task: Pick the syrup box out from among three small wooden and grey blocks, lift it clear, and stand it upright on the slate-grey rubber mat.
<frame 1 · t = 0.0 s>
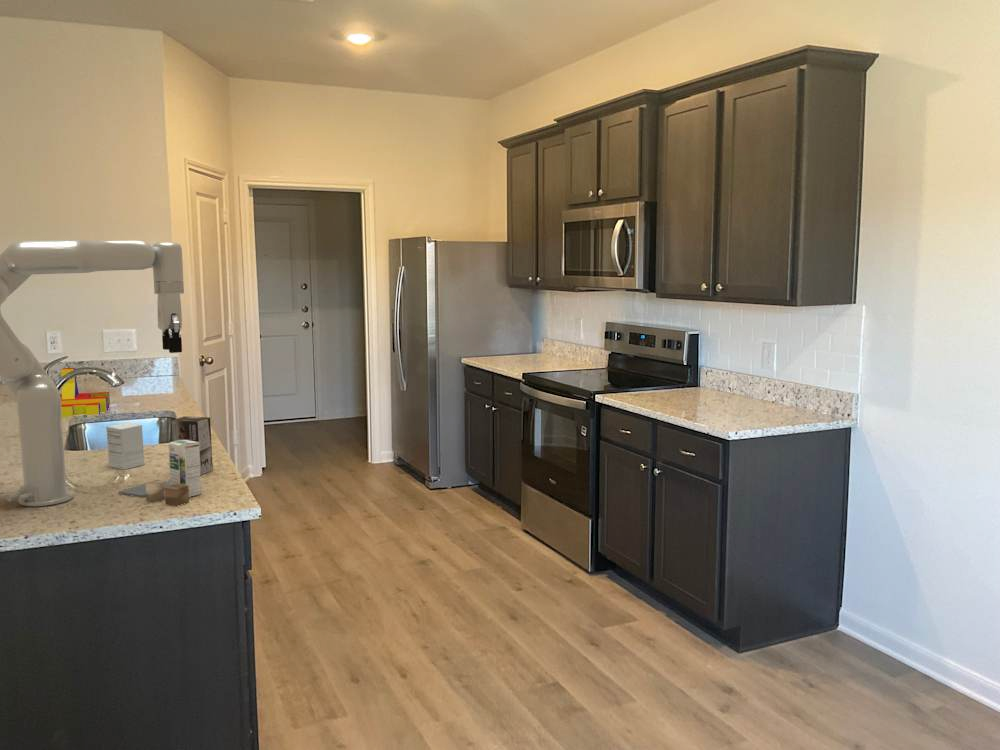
hand: (172, 350, 223), 37 cm above the countertop, tool pointing down, fingers open, 9 cm apart
birch cylinder: (155, 499, 212), on the countertop
walnut block: (177, 503, 209), on the countertop
supplement box: (126, 466, 247), on the countertop
coffee box: (194, 472, 240), on the countertop
syrup box: (186, 495, 216), on the countertop
grey block: (189, 487, 224), on the countertop
building blocks toy: (82, 413, 338), on the countertop
slate mat: (150, 489, 221), on the countertop
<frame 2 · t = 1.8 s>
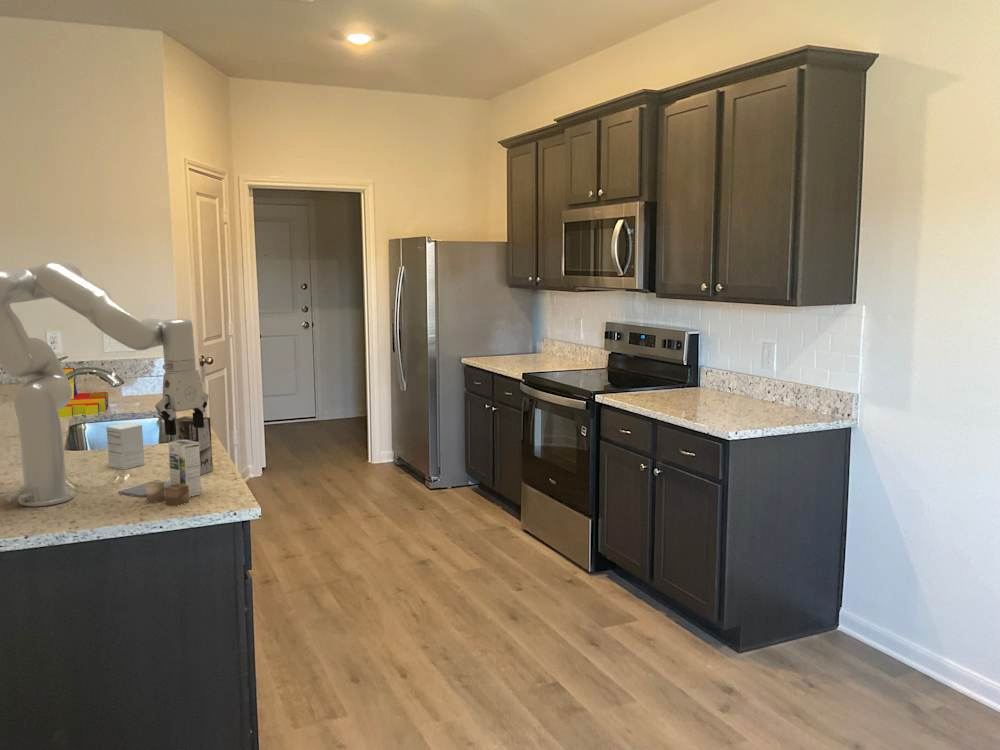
hand: (185, 431, 214), 17 cm above the countertop, tool pointing down, fingers open, 9 cm apart
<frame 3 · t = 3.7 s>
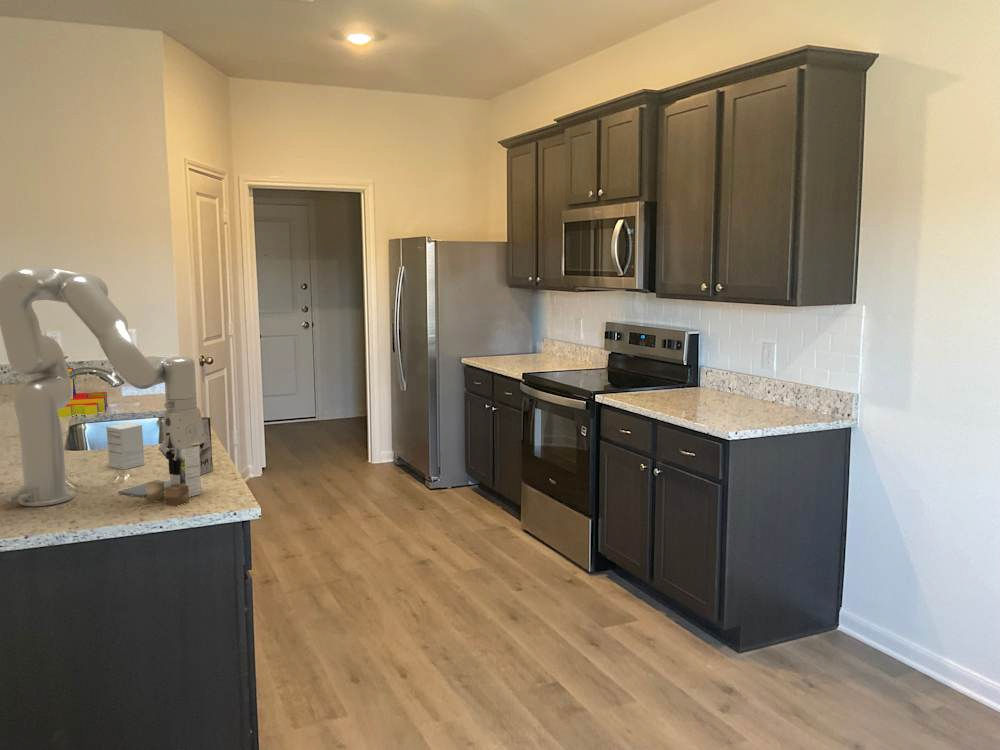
hand: (184, 470, 215), 7 cm above the countertop, tool pointing down, fingers closed on syrup box, 6 cm apart
syrup box: (186, 495, 216), on the countertop, touching gripper
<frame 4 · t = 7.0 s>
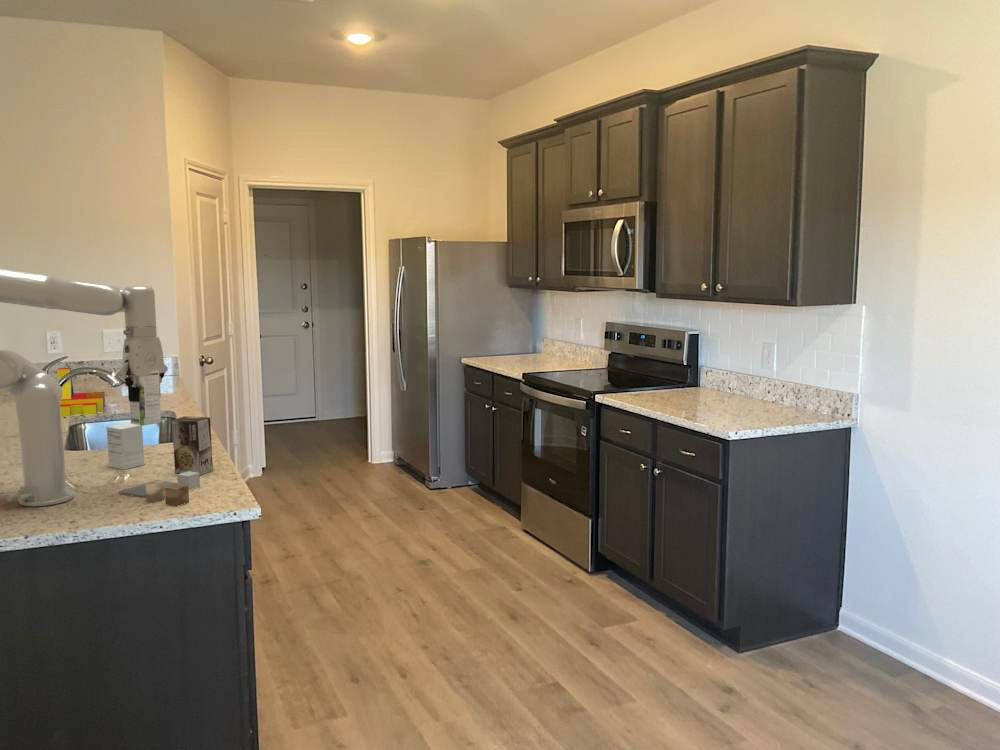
hand: (144, 398, 218), 25 cm above the countertop, tool pointing down, fingers closed on syrup box, 6 cm apart
syrup box: (146, 424, 219), point 18 cm above the countertop, touching gripper
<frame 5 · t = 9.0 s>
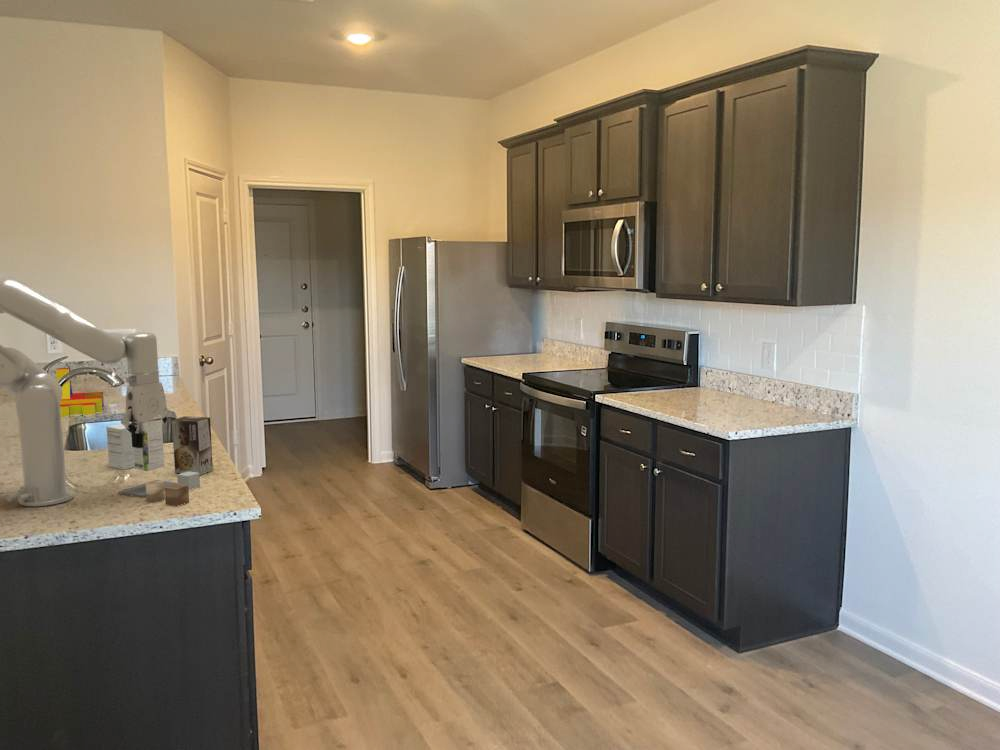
hand: (148, 444, 220), 13 cm above the countertop, tool pointing down, fingers closed on syrup box, 6 cm apart
syrup box: (149, 468, 221), point 6 cm above the countertop, touching gripper
when the fingers open (8 cm above the countertop, at t = 10.4 s): syrup box drops 1 cm, resting on slate mat.
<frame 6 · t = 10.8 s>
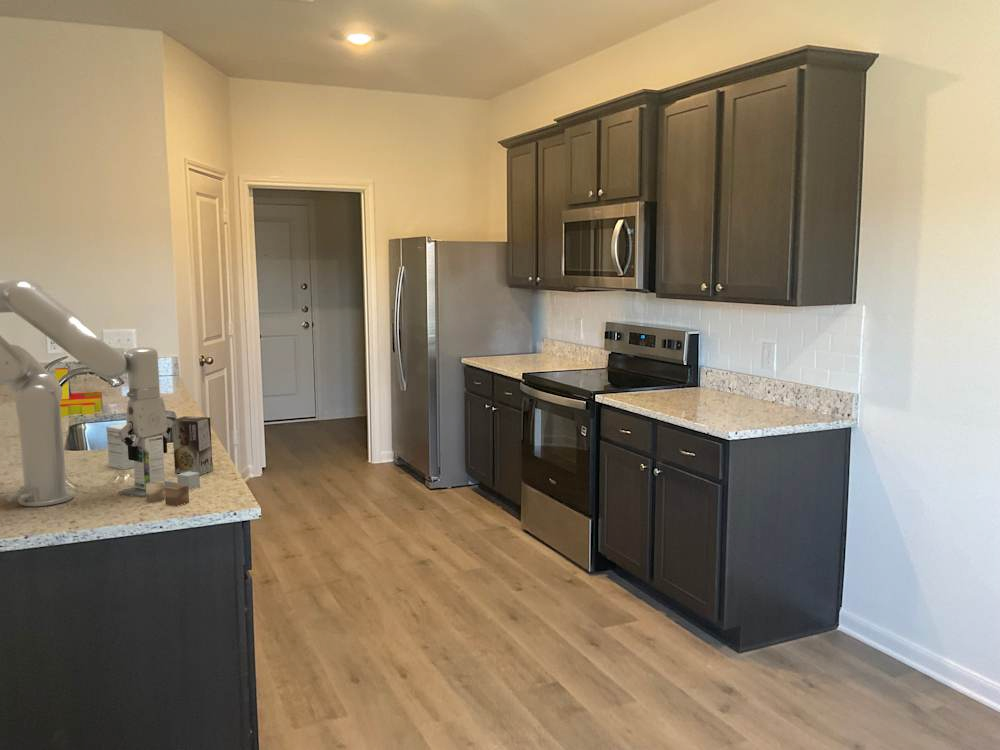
hand: (148, 456, 220), 9 cm above the countertop, tool pointing down, fingers open, 9 cm apart
syrup box: (150, 487, 222), resting on slate mat
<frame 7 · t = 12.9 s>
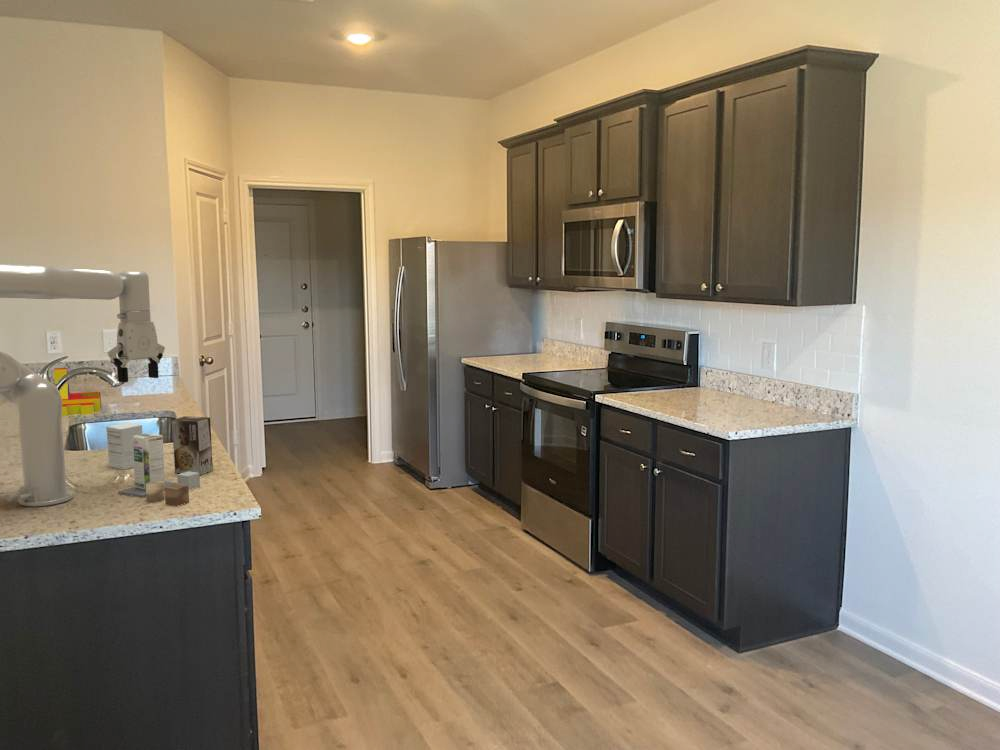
hand: (138, 379, 222), 30 cm above the countertop, tool pointing down, fingers open, 9 cm apart
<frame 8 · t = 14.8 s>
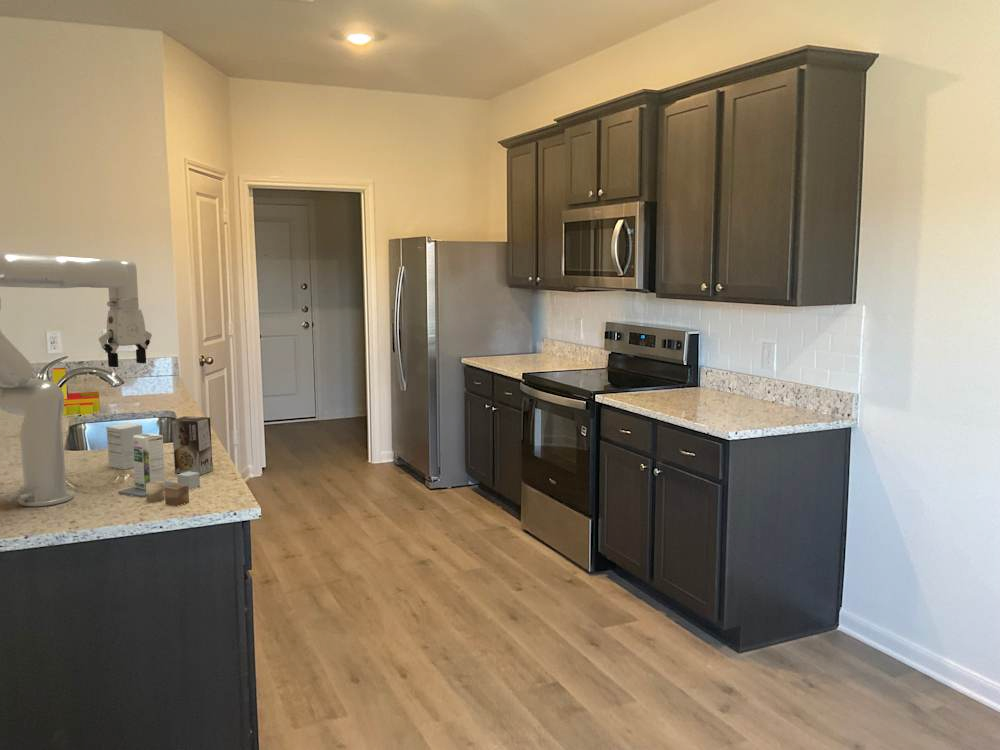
hand: (127, 365, 232), 32 cm above the countertop, tool pointing down, fingers open, 9 cm apart
at the end: syrup box inside the target area on the slate mat (0.3 cm from its centre), point 0.4 cm above the slate mat's base; syrup box tilted 0°; the gripper is holding nothing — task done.
